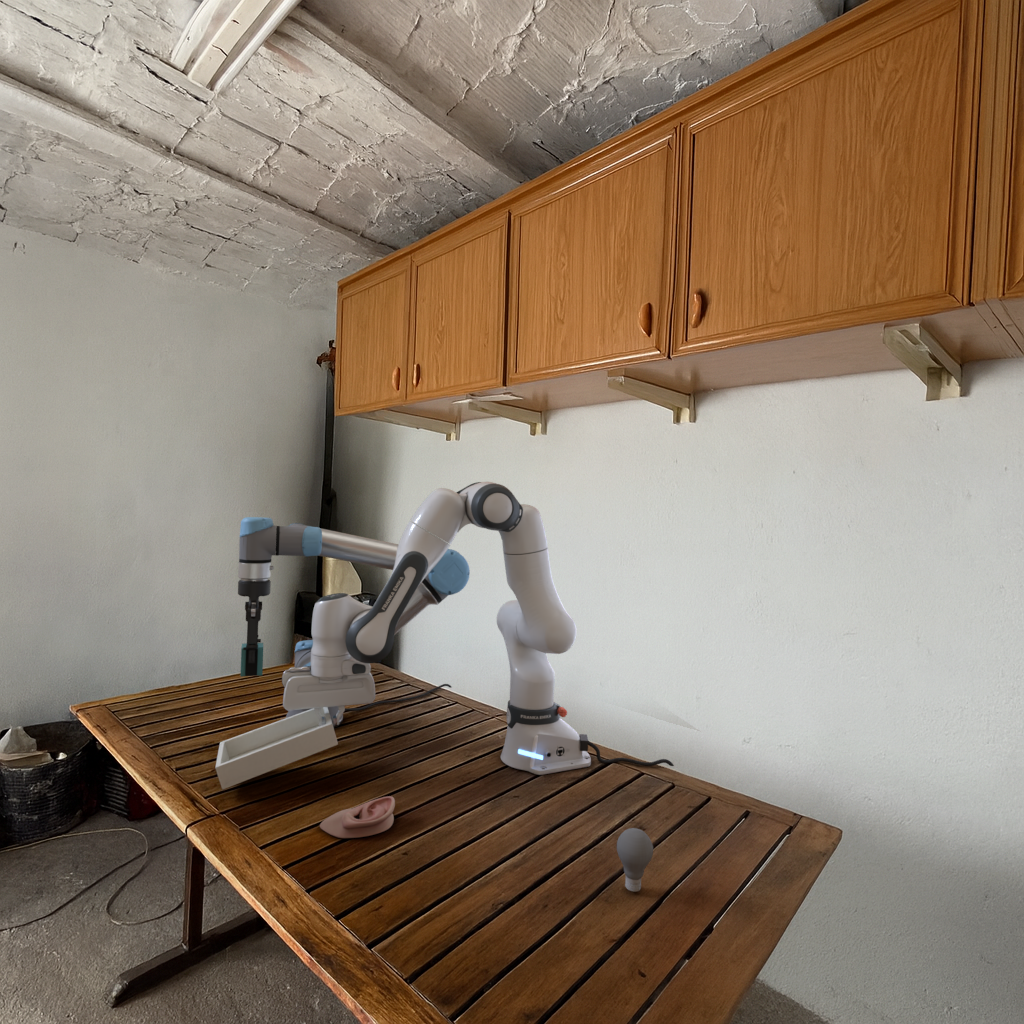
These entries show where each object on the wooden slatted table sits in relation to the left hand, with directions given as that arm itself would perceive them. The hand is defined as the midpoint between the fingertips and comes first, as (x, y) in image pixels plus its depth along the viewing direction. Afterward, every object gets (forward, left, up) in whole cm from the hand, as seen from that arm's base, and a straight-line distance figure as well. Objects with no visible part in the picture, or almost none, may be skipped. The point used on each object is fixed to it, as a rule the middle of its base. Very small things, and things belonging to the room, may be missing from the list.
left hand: (251, 672), depth 158 cm
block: (0, 0, 0) cm, 0 cm away
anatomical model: (+5, +50, -19) cm, 54 cm away
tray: (+4, +22, -13) cm, 26 cm away
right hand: (-4, +27, -7) cm, 28 cm away
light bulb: (-13, +100, -19) cm, 103 cm away
